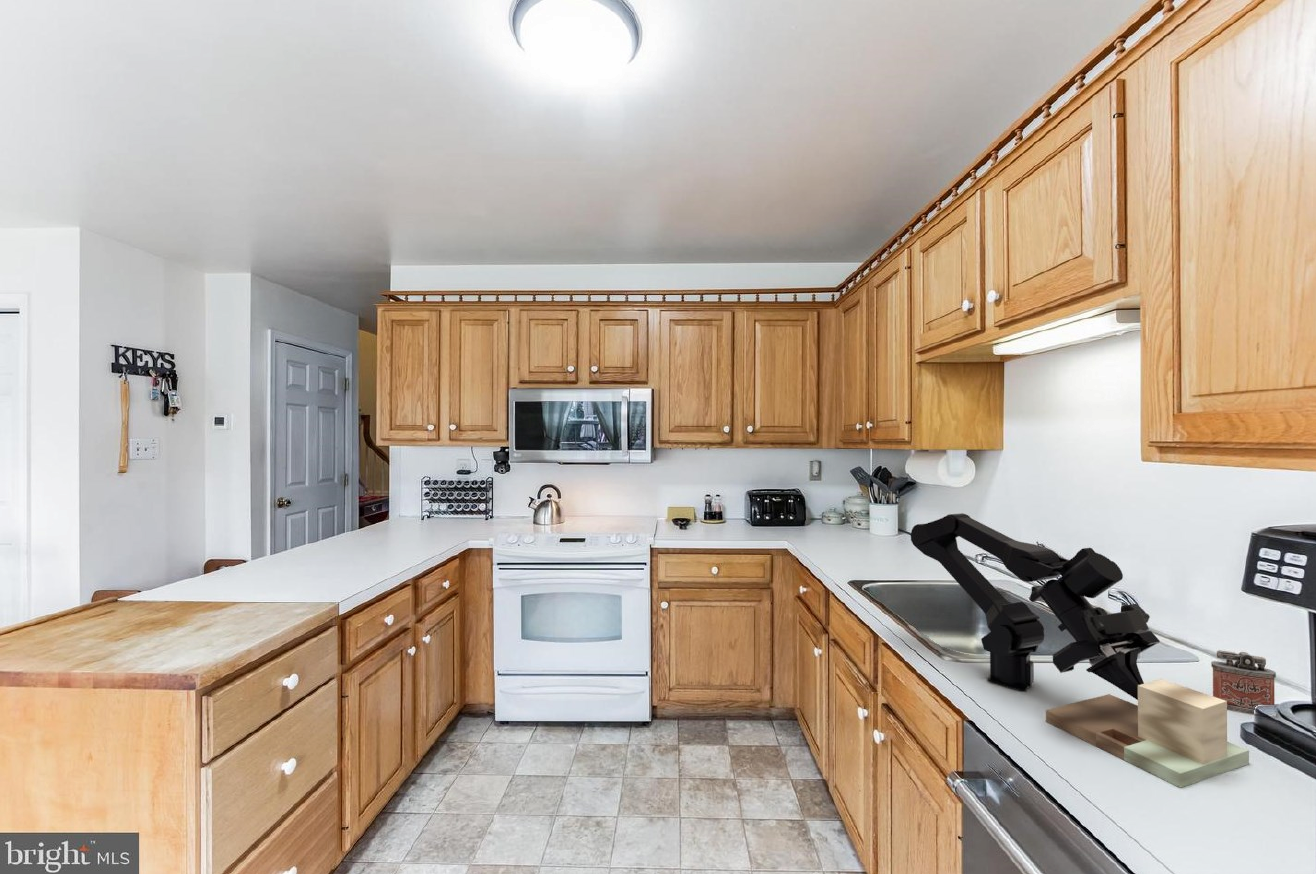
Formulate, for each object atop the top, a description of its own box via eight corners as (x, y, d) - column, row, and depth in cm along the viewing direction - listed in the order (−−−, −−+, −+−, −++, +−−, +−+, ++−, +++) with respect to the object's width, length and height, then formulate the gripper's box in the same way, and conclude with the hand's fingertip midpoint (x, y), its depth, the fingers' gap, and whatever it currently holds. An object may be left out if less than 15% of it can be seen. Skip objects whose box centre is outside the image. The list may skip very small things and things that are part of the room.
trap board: (1045, 721, 96) (1045, 710, 95) (1109, 705, 101) (1109, 694, 101) (1180, 787, 78) (1180, 773, 78) (1249, 763, 83) (1248, 750, 83)
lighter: (1271, 710, 98) (1270, 654, 98) (1279, 719, 95) (1279, 661, 95) (1208, 700, 102) (1208, 645, 102) (1215, 708, 99) (1214, 652, 99)
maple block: (1138, 736, 87) (1137, 685, 87) (1161, 728, 89) (1161, 678, 89) (1203, 764, 79) (1202, 709, 79) (1227, 755, 82) (1226, 701, 82)
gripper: (1069, 594, 90) (1150, 691, 80) (1145, 582, 96) (1229, 671, 86) (1024, 627, 98) (1092, 720, 87) (1097, 614, 104) (1168, 699, 93)
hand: (1147, 702), depth 88 cm, fingers closed, pressing on maple block
